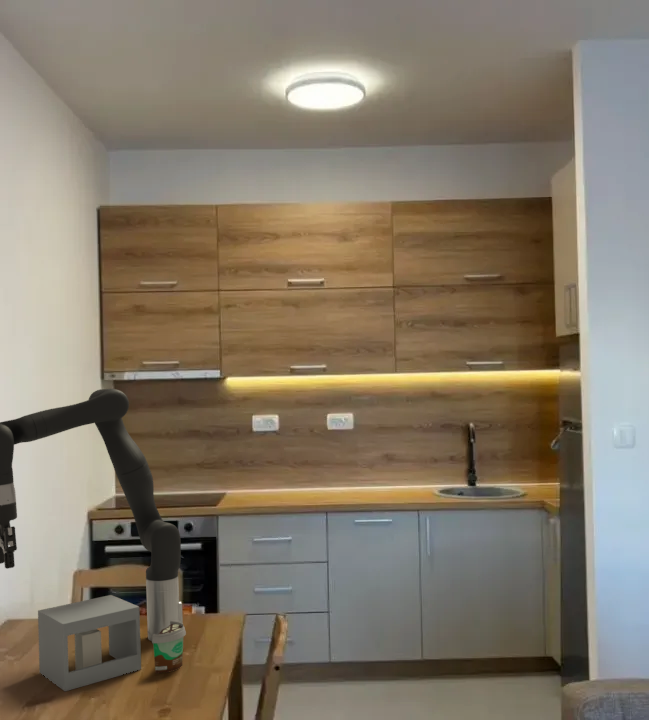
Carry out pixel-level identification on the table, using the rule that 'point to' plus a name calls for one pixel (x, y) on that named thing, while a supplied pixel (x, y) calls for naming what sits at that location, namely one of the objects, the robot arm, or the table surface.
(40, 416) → the robot arm
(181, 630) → the food container
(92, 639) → the cream block
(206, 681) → the table surface
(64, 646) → the open box frame
